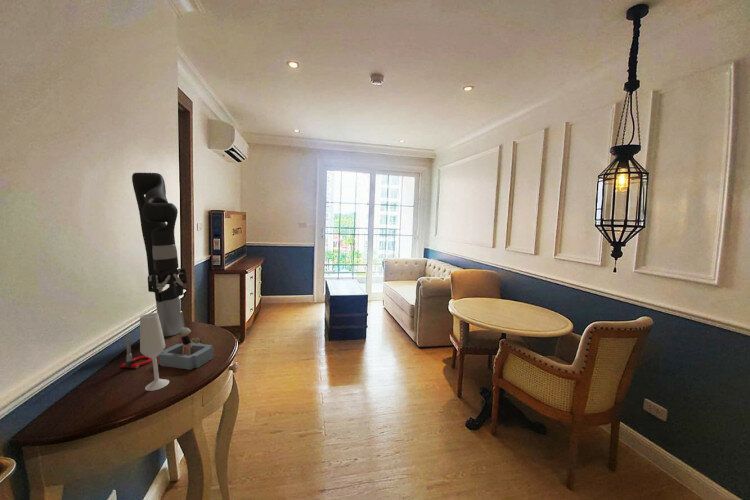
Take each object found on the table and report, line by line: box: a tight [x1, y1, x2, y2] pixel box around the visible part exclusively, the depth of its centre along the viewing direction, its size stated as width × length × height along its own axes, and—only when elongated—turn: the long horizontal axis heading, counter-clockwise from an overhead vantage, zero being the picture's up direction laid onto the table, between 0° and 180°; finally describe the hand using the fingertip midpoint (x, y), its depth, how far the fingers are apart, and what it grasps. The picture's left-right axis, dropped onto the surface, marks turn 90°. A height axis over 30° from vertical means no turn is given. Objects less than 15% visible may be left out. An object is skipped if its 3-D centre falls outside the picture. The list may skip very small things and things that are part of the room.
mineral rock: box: [190, 337, 203, 344], centre depth 129 cm, size 11×4×8 cm
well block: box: [158, 342, 215, 371], centre depth 117 cm, size 11×17×4 cm, turn 75°
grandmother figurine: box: [180, 326, 192, 355], centre depth 117 cm, size 8×4×13 cm, turn 60°
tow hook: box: [120, 333, 152, 369], centre depth 116 cm, size 8×13×9 cm
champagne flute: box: [139, 312, 170, 392], centre depth 99 cm, size 7×7×24 cm
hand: (170, 298), depth 115 cm, fingers open, 8 cm apart
